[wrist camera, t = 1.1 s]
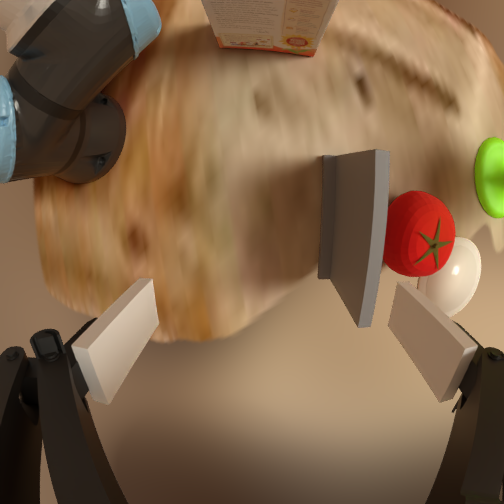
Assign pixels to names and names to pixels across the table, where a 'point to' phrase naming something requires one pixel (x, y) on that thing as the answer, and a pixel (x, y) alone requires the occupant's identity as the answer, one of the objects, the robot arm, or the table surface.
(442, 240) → the tomato
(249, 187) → the table surface
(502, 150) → the wineglass
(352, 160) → the grey board
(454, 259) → the plate
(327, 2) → the cracker box
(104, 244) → the table surface
